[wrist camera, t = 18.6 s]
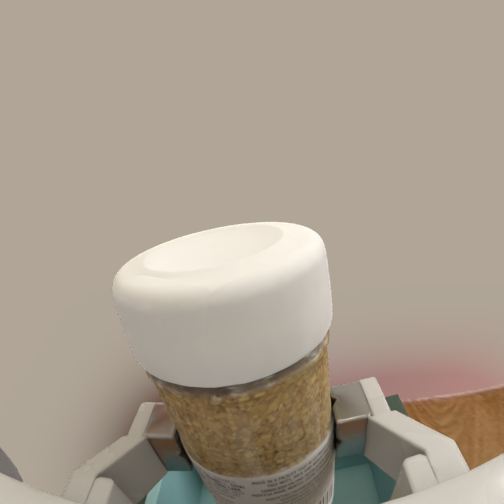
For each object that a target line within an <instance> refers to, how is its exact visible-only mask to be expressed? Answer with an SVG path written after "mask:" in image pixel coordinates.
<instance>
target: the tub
mask: <svg viewBox="0 0 504 504" xmlns="http://www.w3.org/2000/svg"><path fill="white" fill-rule="evenodd" d="M395 485H396V481H395V480H394V479H393V478H391V477H390V476H389V475H388V474H386V473H385V472H384V471H383V470H381V469H380V468H379V467H378V466H376V465H375V464H374V463H373V462H372V461H370V460H369V459H368V458H367V457H365V456H364V454H361V455H356V456H351V457H346V458H340V459H337V458H336V454H335V463H334V494H333V500H332V504H380V503H384V502H387V501H389V500H390V498H391V495H392V493H393V490H394V487H395ZM145 504H217V503H216V502H215V500H214V499H213V497H212V495H211V494H210V492H209V490H208V489H207V487H206V485H205V484H204V482H203V480H202V479H201V477H200V475H199V474H198V472H197V470H196V468H195V467H194V466H193V471H168V473H167V474H166V475H165V476H164V477H163V478H162V479H161V480H160V481H159V482H158V483H157V484H156V485H155V486H154V487H153V488H152V490H151V491H150V492H149V493H148V494H147V497H146V501H145Z"/></svg>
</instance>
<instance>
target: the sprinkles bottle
mask: <svg viewBox="0 0 504 504" xmlns="http://www.w3.org/2000/svg"><path fill="white" fill-rule="evenodd" d="M112 294H113V299H114V302H115V305H116V308H117V311H118V315H119V317H120V320H121V323H122V326H123V329H124V332H125V334H126V337H127V339H128V342H129V344H130V347H131V349H132V352H133V354H134V357H135V359H136V360H137V362H138V363H139V364H140V366H141V367H142V368H143V369H145V370H146V372H147V375H148V377H149V378H150V379H151V381H152V382H153V383H154V384H155V385H156V387H157V389H158V391H159V394H160V397H161V398H162V400H163V402H164V404H165V406H166V409H167V411H168V414H169V416H170V418H171V420H172V421H173V422H174V425H175V427H176V429H177V430H178V432H179V435H180V439H181V442H182V444H183V447H184V449H185V451H186V453H187V454H188V456H189V458H190V460H191V461H192V463H193V465H194V467H195V468H196V470H197V472H198V474H199V475H200V477H201V479H202V480H203V482H204V484H205V485H206V487H207V489H208V490H209V492H210V494H211V495H212V497H213V499H214V500H215V502H216V503H217V504H332V500H333V494H334V463H335V449H334V416H333V409H332V407H331V399H330V383H329V368H328V354H327V345H328V342H329V327H330V324H331V322H332V316H333V308H332V296H331V285H330V277H329V269H328V261H327V254H326V249H325V245H324V243H323V241H322V239H321V237H320V236H319V235H318V234H317V233H316V232H314V231H313V230H311V229H309V228H307V227H305V226H301V225H297V224H292V223H283V222H258V223H247V224H237V225H231V226H225V227H219V228H214V229H209V230H205V231H202V232H197V233H193V234H190V235H186V236H183V237H180V238H176V239H174V240H171V241H168V242H165V243H162V244H160V245H158V246H155V247H153V248H151V249H149V250H147V251H145V252H143V253H141V254H139V255H137V256H136V257H134V258H133V259H131V260H130V261H128V262H127V263H126V264H125V265H124V266H123V267H122V268H121V269H120V270H119V271H118V273H117V274H116V275H115V277H114V280H113V284H112Z"/></svg>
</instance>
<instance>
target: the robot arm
mask: <svg viewBox="0 0 504 504" xmlns="http://www.w3.org/2000/svg"><path fill="white" fill-rule="evenodd" d="M330 399H331V407H332V409H333V416H334V449H335V454H336V458H337V459H340V458H346V457H351V456H356V455H361V454H364V456H365V457H367V458H368V459H369V460H370V461H372V462H373V463H374V464H375V465H376V466H378V467H379V468H380V469H381V470H383V471H384V472H385V473H386V474H388V475H389V476H390V477H391V478H393V479H394V480H395V481H396V485H395V487H394V490H393V493H392V495H391V498H390V500H389V501H387V502H384V503H380V504H504V453H502V454H501V455H499V456H497V457H495V458H493V459H492V460H490V461H488V462H486V463H484V464H482V465H480V466H478V467H476V468H474V469H472V470H470V469H469V468H468V466H467V464H466V462H465V460H464V458H463V456H462V454H461V452H460V450H459V449H458V447H457V445H456V443H455V441H454V440H453V439H450V438H448V437H446V436H444V435H442V434H440V433H438V432H436V431H434V430H432V429H430V428H429V427H427V426H425V425H423V424H421V423H419V422H417V421H415V420H413V419H411V418H409V417H407V416H406V415H404V414H402V413H400V412H398V411H396V410H394V411H391V410H390V408H389V406H388V404H387V401H386V399H385V397H384V395H383V393H382V391H381V388H380V386H379V384H378V382H377V380H376V378H375V377H371V378H367V379H363V380H359V381H355V382H350V383H345V384H341V385H336V386H331V387H330ZM193 466H194V465H193V463H192V461H191V460H190V458H189V456H188V454H187V453H186V451H185V449H184V447H183V444H182V442H181V439H180V435H179V432H178V430H177V429H176V427H175V425H174V422H173V421H172V420H171V418H170V416H169V414H168V411H167V409H166V406H165V404H164V402H157V403H149V402H144V403H142V404H141V405H140V408H139V410H138V412H137V414H136V417H135V419H134V421H133V424H132V426H131V428H130V431H129V433H128V435H127V436H123V437H121V438H120V439H118V440H117V441H115V442H114V443H113V444H111V445H110V446H108V447H107V448H105V449H104V450H103V451H101V452H100V453H99V454H97V455H95V456H94V457H92V458H91V459H89V460H88V461H86V462H85V463H84V464H82V465H81V466H79V467H78V468H76V469H75V470H74V471H73V473H72V475H71V477H70V479H69V481H68V483H67V485H66V487H65V489H64V491H63V493H62V495H61V497H60V496H57V495H54V494H51V493H48V492H45V491H43V490H40V489H37V488H35V487H32V486H29V485H27V484H25V483H22V482H20V481H18V480H15V479H13V478H11V477H9V476H6V475H4V474H2V473H0V504H138V503H139V502H140V501H141V500H142V499H143V498H144V497H145V496H146V495H147V494H148V493H149V492H150V491H151V490H152V488H153V487H154V486H155V485H156V484H157V483H158V482H159V481H160V480H161V479H162V478H163V477H164V476H165V475H166V474H167V473H168V471H193Z"/></svg>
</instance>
